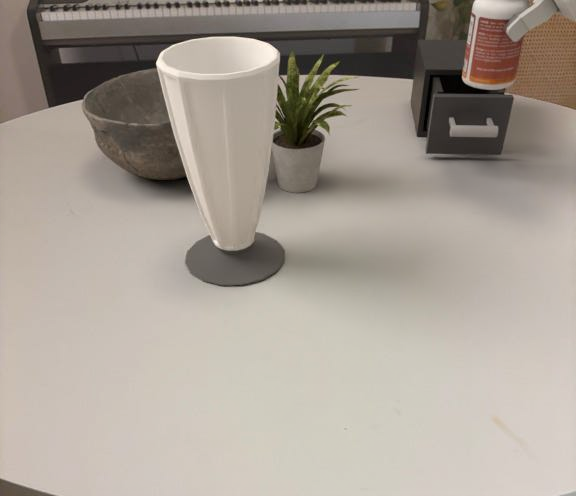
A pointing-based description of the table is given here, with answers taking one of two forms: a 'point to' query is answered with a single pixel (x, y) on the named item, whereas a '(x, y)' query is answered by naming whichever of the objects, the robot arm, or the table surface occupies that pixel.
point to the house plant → (302, 127)
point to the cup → (225, 149)
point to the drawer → (465, 117)
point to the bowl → (135, 125)
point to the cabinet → (433, 72)
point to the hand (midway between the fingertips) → (492, 26)
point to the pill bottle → (492, 45)
